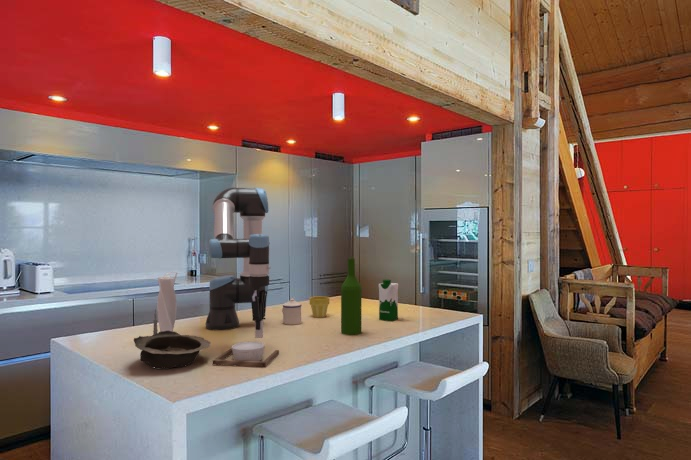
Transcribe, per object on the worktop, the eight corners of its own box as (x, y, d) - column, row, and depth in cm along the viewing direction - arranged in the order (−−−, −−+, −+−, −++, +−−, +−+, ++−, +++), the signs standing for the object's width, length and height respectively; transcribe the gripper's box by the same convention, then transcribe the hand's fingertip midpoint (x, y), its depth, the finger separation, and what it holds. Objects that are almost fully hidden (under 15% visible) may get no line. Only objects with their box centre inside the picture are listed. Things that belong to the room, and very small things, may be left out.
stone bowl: (124, 359, 155) (127, 332, 156) (197, 353, 170) (198, 328, 170) (139, 377, 135) (141, 346, 136) (219, 369, 150) (221, 341, 150)
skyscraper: (172, 336, 190) (172, 270, 190) (180, 340, 184) (180, 272, 184) (152, 340, 184) (152, 272, 184) (160, 343, 178) (160, 273, 178)
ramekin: (228, 358, 158) (228, 343, 158) (259, 354, 163) (259, 339, 163) (235, 367, 148) (235, 351, 148) (268, 362, 153) (268, 347, 153)
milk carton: (376, 320, 223) (376, 279, 223) (385, 316, 231) (385, 278, 231) (392, 321, 218) (392, 281, 218) (400, 318, 226) (400, 279, 226)
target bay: (212, 364, 150) (212, 360, 150) (230, 352, 165) (230, 348, 165) (265, 367, 147) (265, 362, 147) (278, 354, 162) (278, 350, 162)
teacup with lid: (305, 323, 216) (305, 298, 216) (290, 325, 210) (290, 301, 210) (290, 319, 225) (290, 296, 225) (275, 322, 218) (275, 298, 218)
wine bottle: (365, 332, 196) (365, 258, 196) (352, 336, 190) (351, 259, 189) (350, 329, 202) (350, 257, 202) (336, 332, 196) (336, 258, 195)
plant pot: (311, 314, 238) (311, 295, 238) (330, 314, 237) (330, 296, 237) (307, 318, 228) (307, 298, 228) (327, 318, 227) (327, 299, 227)
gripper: (263, 277, 162) (263, 342, 162) (273, 273, 175) (273, 333, 175) (243, 277, 163) (243, 341, 163) (255, 273, 176) (255, 332, 176)
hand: (259, 337), depth 169 cm, fingers closed
